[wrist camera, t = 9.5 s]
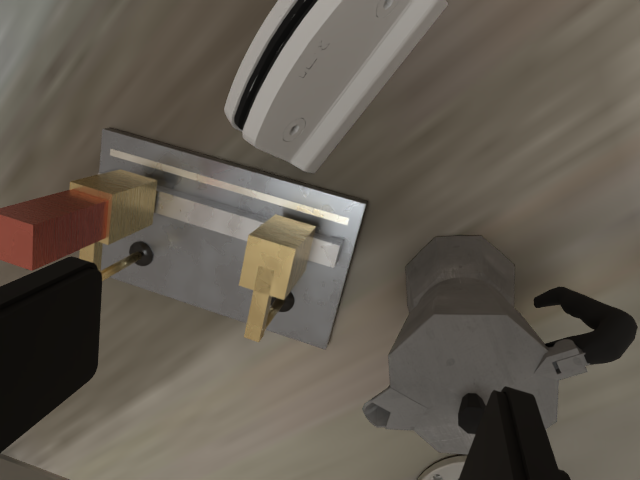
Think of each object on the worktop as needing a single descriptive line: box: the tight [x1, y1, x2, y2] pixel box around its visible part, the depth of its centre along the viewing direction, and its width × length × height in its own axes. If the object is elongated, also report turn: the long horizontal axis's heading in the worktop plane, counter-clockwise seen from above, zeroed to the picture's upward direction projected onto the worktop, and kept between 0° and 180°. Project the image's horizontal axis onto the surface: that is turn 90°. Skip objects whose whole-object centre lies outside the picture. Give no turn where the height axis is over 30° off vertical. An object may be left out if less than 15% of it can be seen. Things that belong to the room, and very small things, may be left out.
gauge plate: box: [98, 128, 368, 350], centre depth 40 cm, size 14×24×9 cm, turn 77°
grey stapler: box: [224, 0, 448, 173], centre depth 33 cm, size 17×5×10 cm, turn 142°
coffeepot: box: [362, 235, 637, 455], centre depth 31 cm, size 15×9×18 cm, turn 118°
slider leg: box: [0, 169, 158, 281], centre depth 36 cm, size 8×4×14 cm, turn 167°
